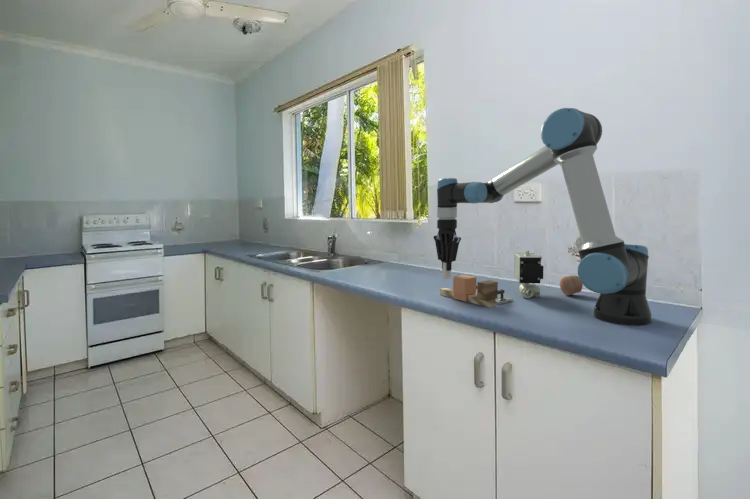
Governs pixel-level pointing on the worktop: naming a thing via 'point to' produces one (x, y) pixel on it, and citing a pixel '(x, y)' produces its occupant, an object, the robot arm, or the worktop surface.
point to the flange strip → (501, 299)
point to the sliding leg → (464, 286)
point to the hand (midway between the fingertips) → (446, 278)
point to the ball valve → (528, 273)
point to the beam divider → (480, 293)
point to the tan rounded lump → (570, 285)
